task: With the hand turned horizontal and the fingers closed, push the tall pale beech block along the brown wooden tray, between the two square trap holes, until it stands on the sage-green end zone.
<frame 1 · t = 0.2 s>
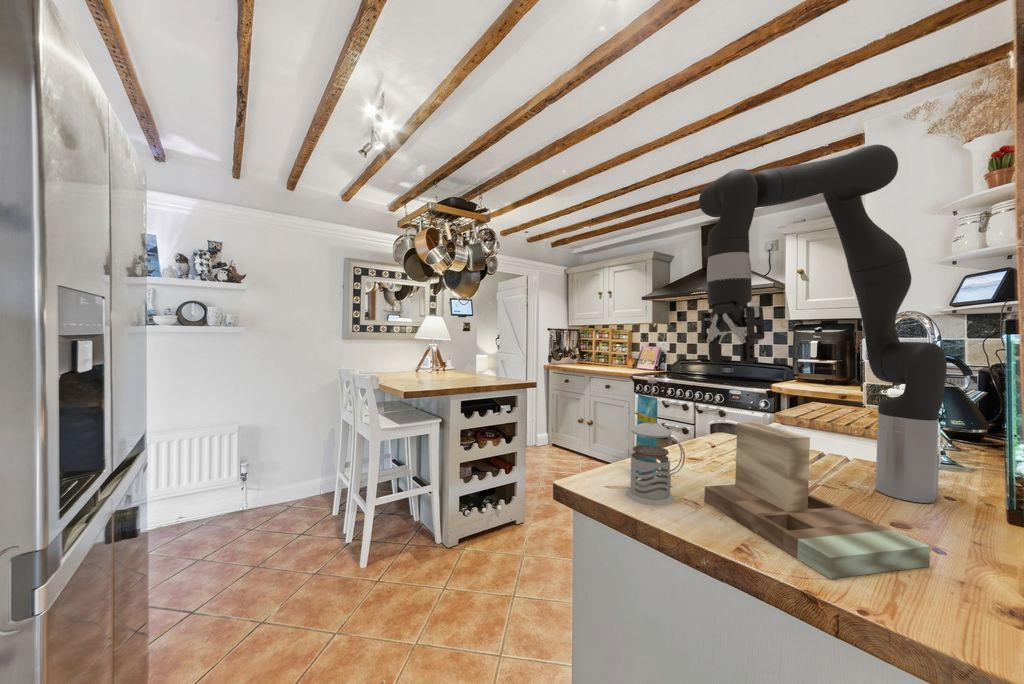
hand: (730, 362, 76), 29 cm above the counter, tool pointing down, fingers open, 8 cm apart
lemon: (761, 476, 96), on the counter
block: (768, 496, 76), point 3 cm above the counter, touching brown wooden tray
french press: (653, 496, 83), on the counter
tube: (645, 475, 95), on the counter
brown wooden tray: (799, 528, 69), on the counter
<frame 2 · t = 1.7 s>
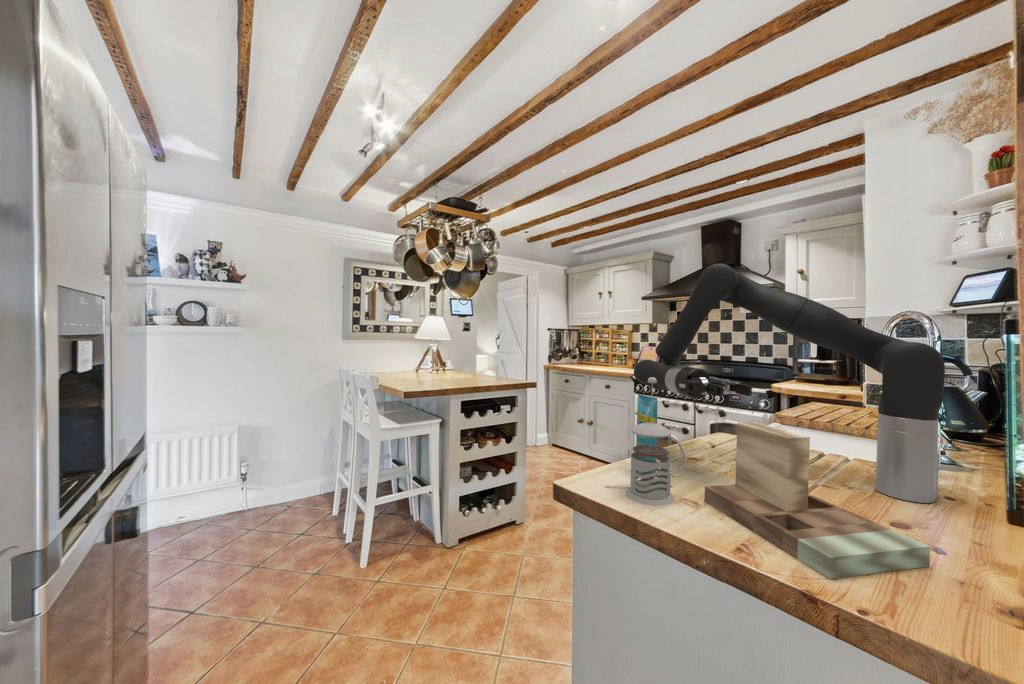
hand: (736, 391, 84), 22 cm above the counter, tool horizontal, fingers open, 6 cm apart
nothing on the counter moved.
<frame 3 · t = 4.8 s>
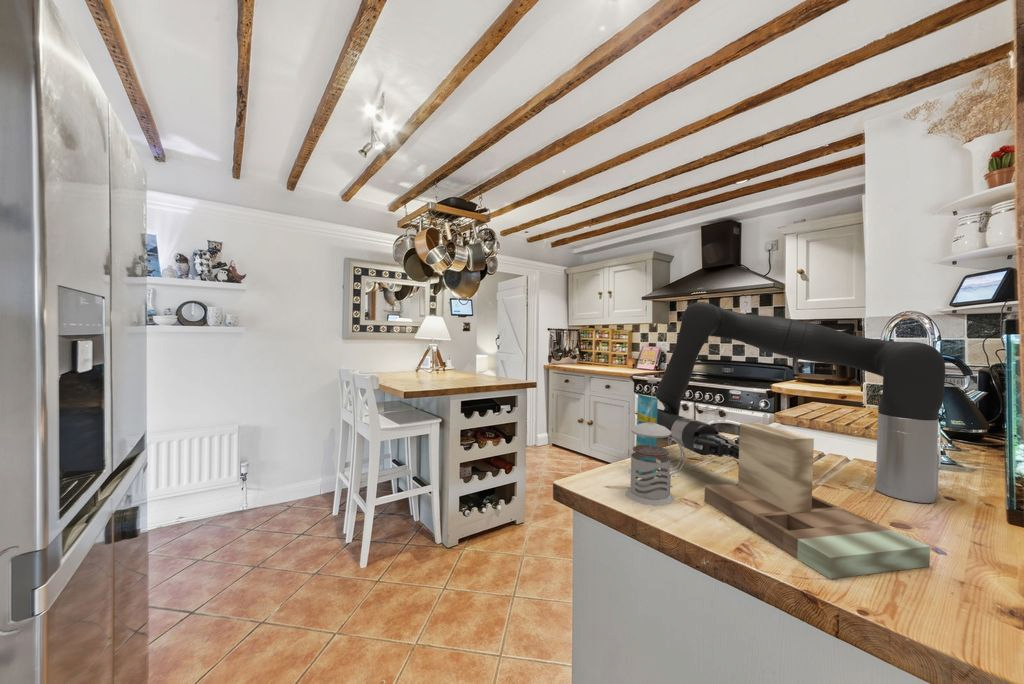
hand: (748, 456, 81), 9 cm above the counter, tool horizontal, fingers closed
block: (772, 498, 75), point 3 cm above the counter, touching gripper
everything else where it was.
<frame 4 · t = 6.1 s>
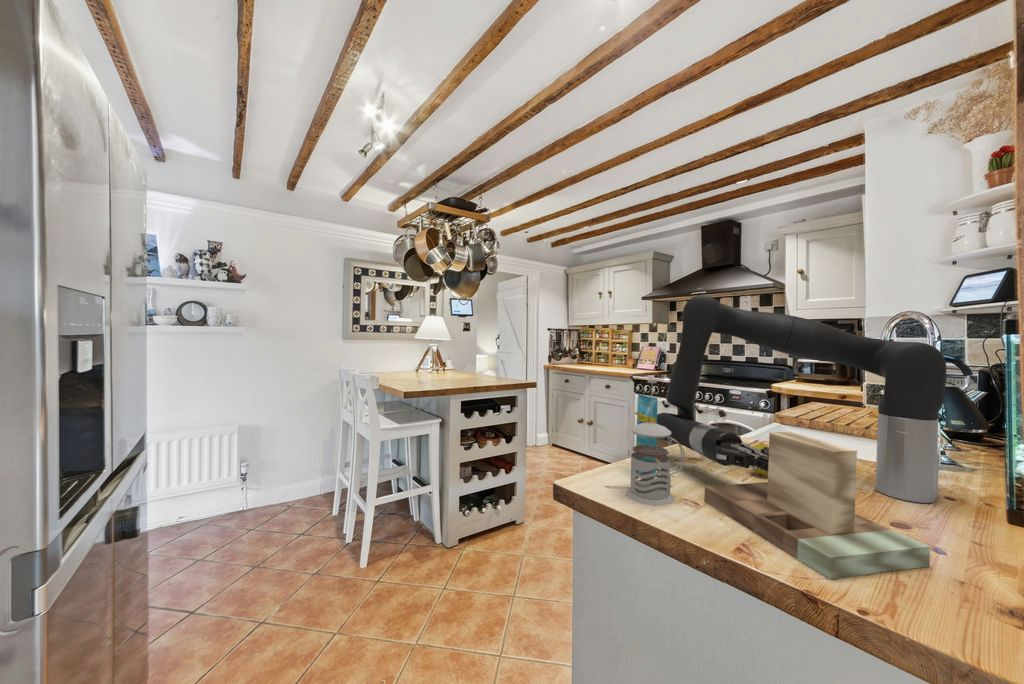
hand: (778, 468, 74), 9 cm above the counter, tool horizontal, fingers closed
block: (807, 515, 68), point 3 cm above the counter, touching gripper
everything else where it was.
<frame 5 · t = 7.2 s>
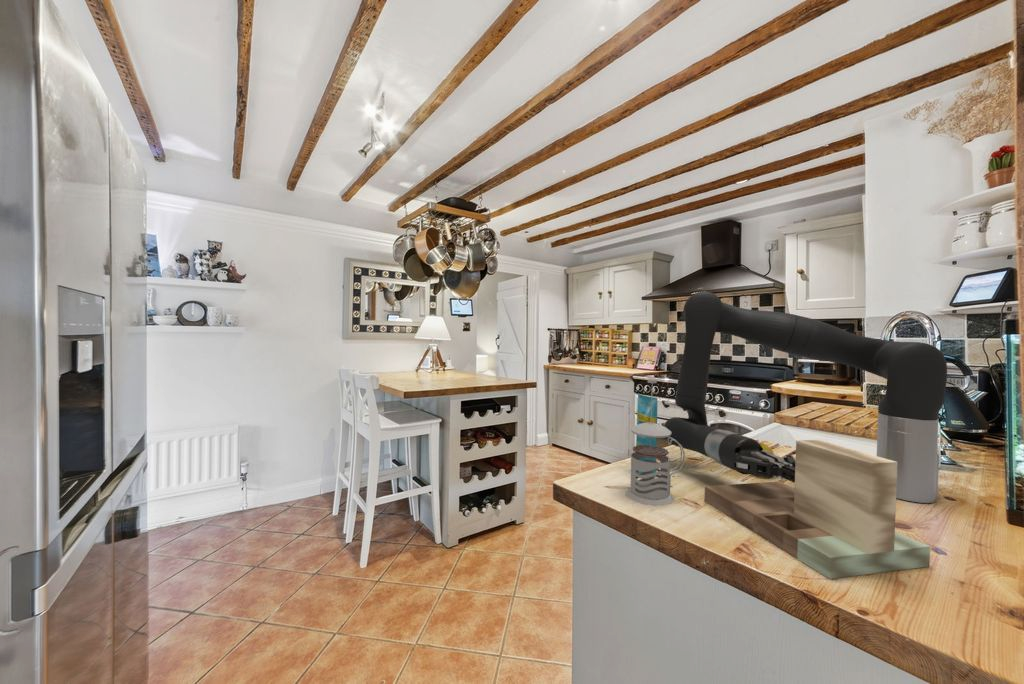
hand: (806, 479, 68), 9 cm above the counter, tool horizontal, fingers closed
block: (839, 531, 62), point 3 cm above the counter, touching gripper
everything else where it was.
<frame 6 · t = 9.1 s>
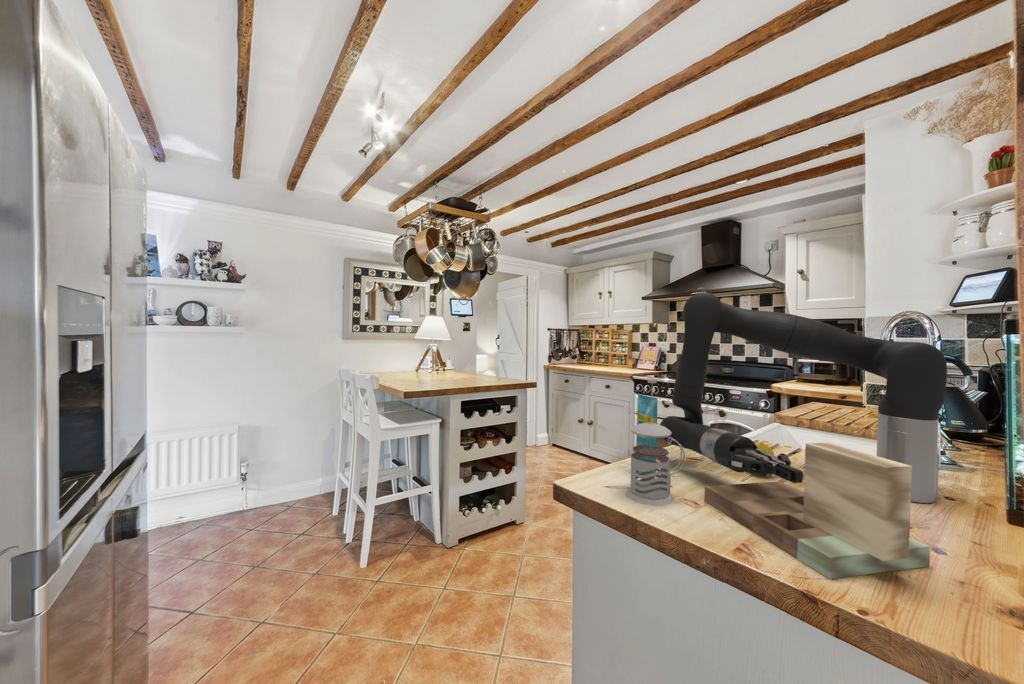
hand: (799, 477, 69), 9 cm above the counter, tool horizontal, fingers closed
block: (851, 537, 61), point 3 cm above the counter, touching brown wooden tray
everything else where it was.
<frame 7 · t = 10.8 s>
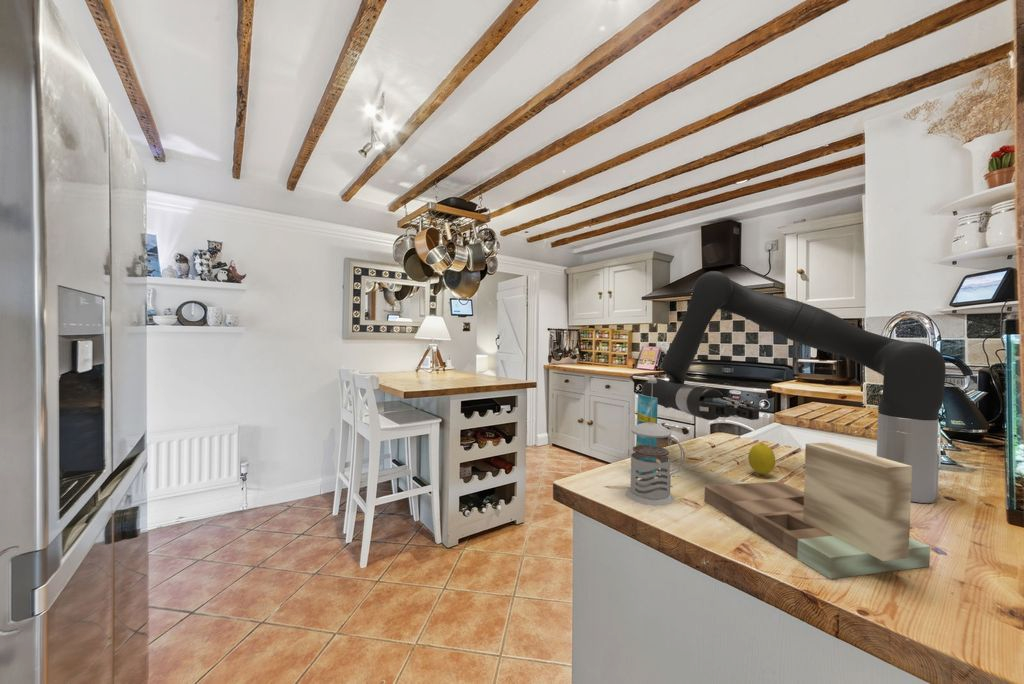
hand: (756, 414, 79), 18 cm above the counter, tool horizontal, fingers closed
nothing on the counter moved.
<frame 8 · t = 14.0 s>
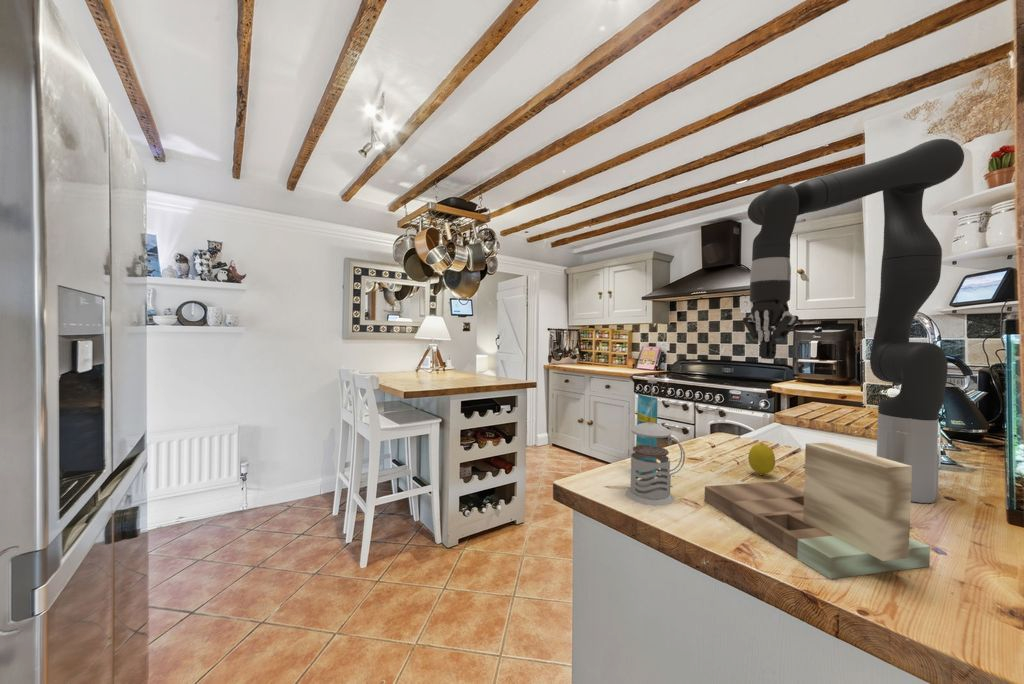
hand: (767, 358, 87), 29 cm above the counter, tool pointing down, fingers closed
nothing on the counter moved.
at the end: block inside the target area (1.1 cm from its centre), point 3.0 cm above the counter; block tilted 0°; block touching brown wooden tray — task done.
